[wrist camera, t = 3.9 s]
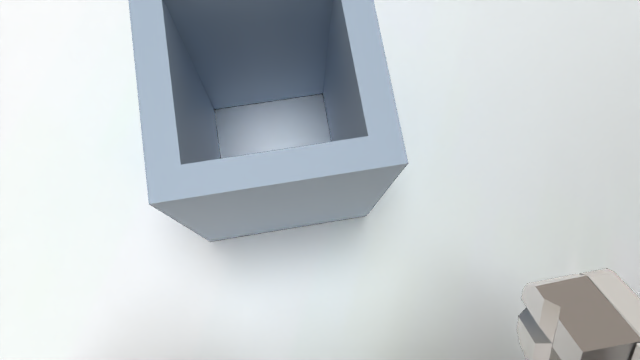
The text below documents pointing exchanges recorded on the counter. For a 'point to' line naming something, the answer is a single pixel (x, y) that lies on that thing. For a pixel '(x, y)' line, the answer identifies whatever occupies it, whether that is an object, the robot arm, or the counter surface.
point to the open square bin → (255, 87)
